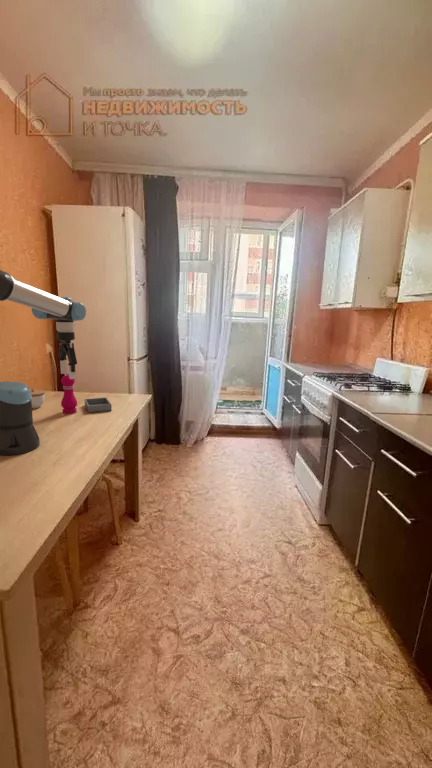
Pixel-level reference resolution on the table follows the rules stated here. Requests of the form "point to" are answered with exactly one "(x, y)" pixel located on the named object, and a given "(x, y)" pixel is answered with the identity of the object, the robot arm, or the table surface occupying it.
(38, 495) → the table surface
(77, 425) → the table surface
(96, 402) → the bin
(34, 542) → the table surface
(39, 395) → the lidded jar
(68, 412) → the pepper mill
